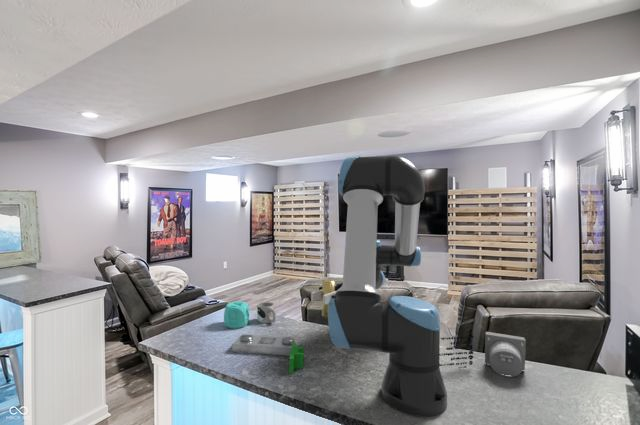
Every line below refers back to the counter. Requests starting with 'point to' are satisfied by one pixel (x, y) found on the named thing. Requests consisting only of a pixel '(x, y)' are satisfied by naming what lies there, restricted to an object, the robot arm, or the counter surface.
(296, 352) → the pipe clamp
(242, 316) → the decorative dice
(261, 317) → the mug
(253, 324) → the counter surface
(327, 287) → the link pin
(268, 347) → the plate with dome knobs
